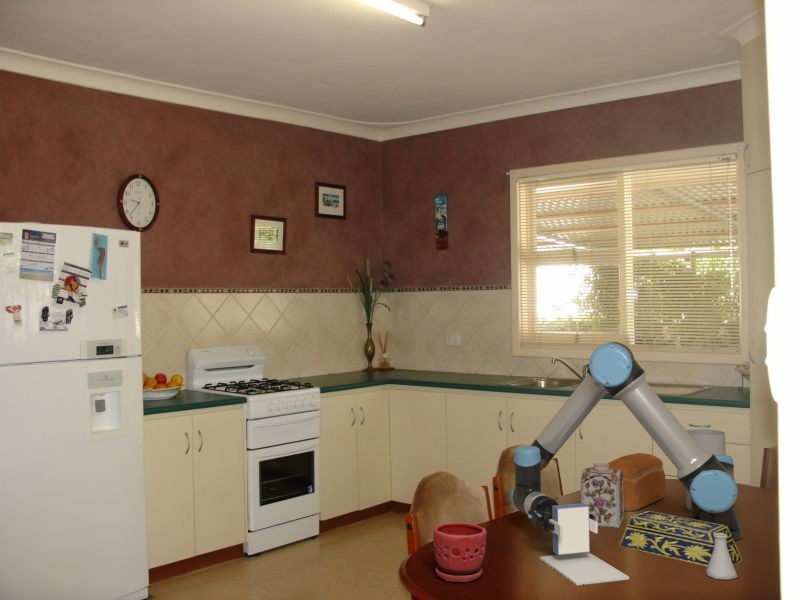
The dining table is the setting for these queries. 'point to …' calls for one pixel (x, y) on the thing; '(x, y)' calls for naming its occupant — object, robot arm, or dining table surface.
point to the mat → (584, 568)
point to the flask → (720, 560)
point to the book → (571, 529)
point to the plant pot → (459, 551)
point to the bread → (640, 479)
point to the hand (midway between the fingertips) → (579, 529)
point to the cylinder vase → (707, 446)
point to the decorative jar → (603, 494)
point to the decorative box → (676, 537)
